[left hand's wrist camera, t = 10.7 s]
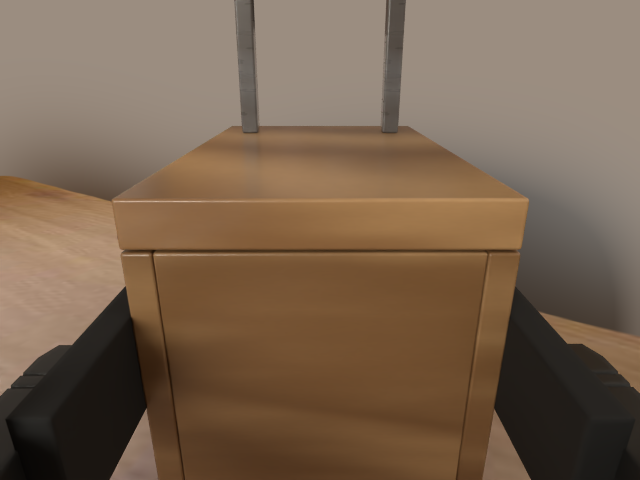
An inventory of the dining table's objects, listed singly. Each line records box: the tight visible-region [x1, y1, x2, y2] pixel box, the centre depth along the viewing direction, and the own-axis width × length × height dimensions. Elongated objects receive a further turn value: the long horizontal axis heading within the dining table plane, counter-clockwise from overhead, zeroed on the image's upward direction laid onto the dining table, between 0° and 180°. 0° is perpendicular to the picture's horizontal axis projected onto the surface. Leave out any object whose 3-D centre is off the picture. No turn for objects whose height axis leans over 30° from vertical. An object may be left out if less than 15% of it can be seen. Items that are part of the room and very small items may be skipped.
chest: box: [121, 250, 520, 480], centre depth 18 cm, size 13×9×9 cm
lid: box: [112, 0, 529, 250], centre depth 15 cm, size 14×9×9 cm, turn 0°
